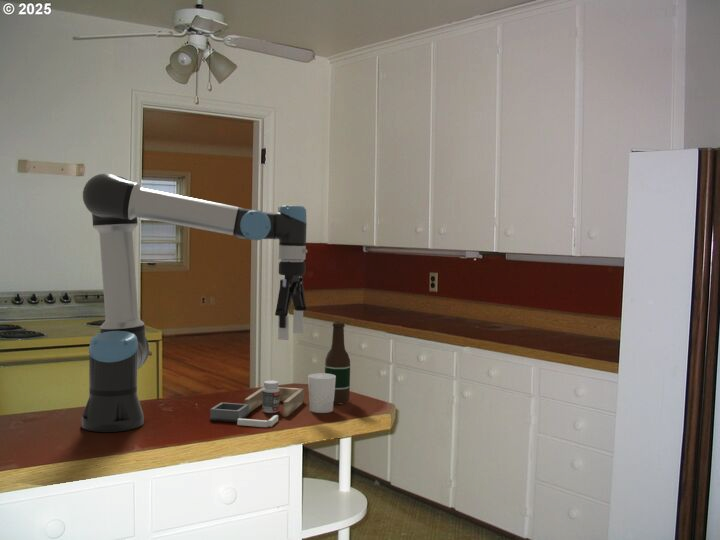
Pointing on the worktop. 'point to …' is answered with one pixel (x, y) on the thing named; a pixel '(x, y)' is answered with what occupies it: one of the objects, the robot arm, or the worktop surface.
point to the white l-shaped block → (258, 422)
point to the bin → (229, 412)
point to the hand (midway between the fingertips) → (290, 336)
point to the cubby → (286, 395)
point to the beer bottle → (339, 364)
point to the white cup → (321, 392)
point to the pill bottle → (270, 397)
